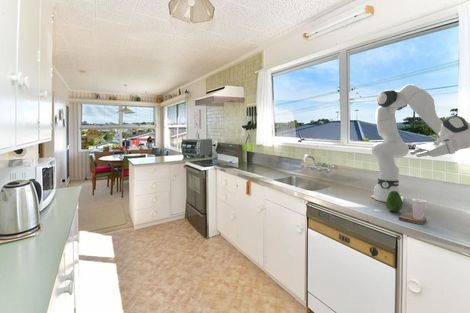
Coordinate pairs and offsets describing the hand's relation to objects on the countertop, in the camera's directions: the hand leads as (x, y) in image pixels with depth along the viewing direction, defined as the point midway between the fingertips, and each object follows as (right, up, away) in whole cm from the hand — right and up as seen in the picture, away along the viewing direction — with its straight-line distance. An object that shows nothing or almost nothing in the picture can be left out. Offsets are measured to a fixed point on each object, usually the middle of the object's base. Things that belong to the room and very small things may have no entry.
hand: (413, 154), depth 131 cm
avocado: (-3, -33, +12) cm, 35 cm away
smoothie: (-1, -33, -4) cm, 33 cm away
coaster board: (-1, -34, -1) cm, 34 cm away
